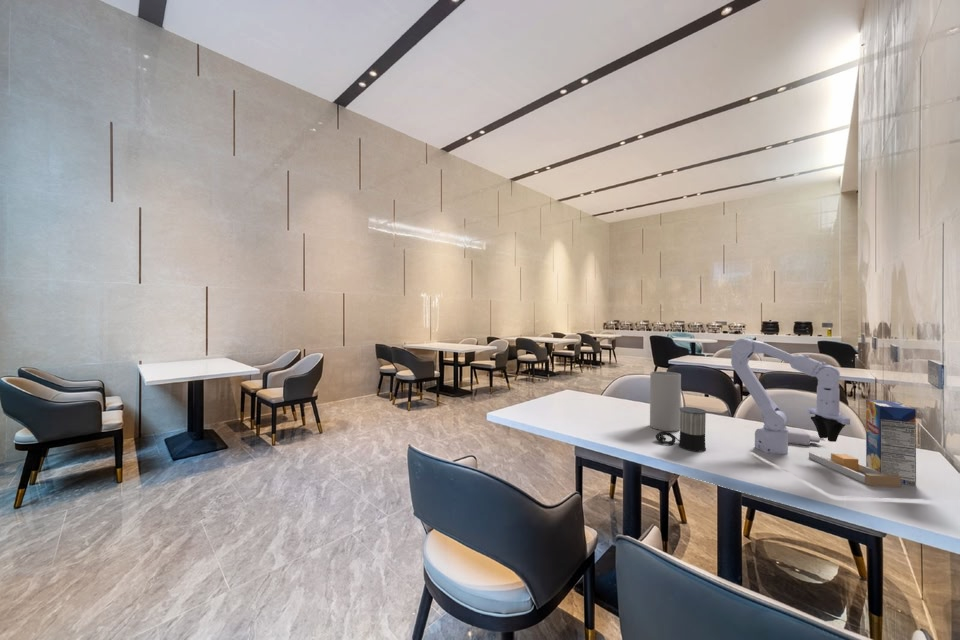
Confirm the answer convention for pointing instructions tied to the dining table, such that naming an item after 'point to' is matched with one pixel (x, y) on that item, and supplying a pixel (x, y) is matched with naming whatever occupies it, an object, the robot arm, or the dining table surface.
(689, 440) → the milk frother
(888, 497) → the dining table surface
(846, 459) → the orange cube
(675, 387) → the cylinder vase
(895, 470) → the blue food box
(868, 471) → the track
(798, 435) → the charger
